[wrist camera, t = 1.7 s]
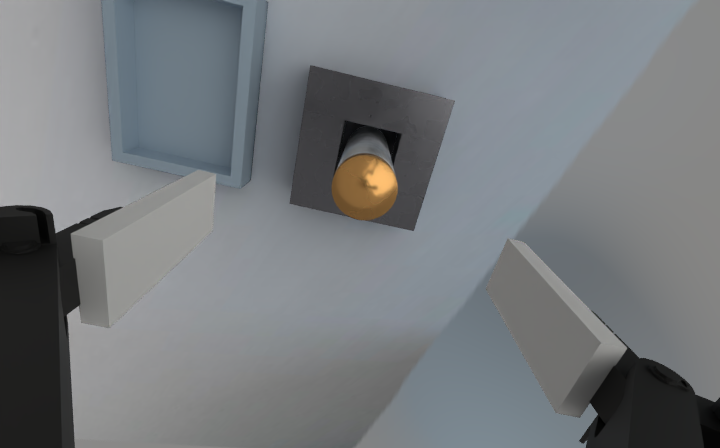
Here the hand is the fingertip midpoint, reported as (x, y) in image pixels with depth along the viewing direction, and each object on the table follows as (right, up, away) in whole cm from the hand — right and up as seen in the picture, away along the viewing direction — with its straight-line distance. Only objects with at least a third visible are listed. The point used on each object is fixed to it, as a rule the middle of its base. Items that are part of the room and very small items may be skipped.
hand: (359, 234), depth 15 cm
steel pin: (+1, +8, +18) cm, 20 cm away
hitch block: (+1, +8, +18) cm, 20 cm away
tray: (-15, +13, +16) cm, 26 cm away
